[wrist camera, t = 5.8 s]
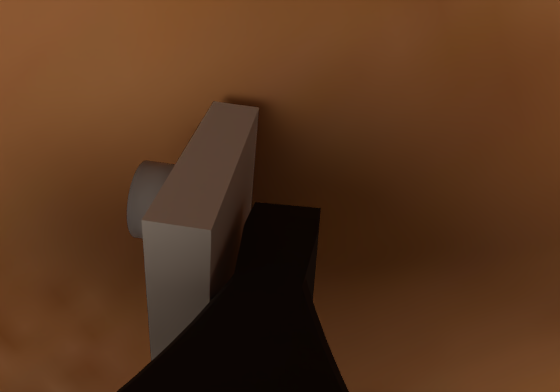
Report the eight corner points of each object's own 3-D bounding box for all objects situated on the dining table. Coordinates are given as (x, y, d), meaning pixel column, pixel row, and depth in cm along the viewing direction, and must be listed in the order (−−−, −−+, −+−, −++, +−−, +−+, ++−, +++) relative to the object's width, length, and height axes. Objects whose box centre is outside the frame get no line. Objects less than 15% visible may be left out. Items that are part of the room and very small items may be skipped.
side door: (260, 105, 9) (208, 235, 5) (236, 397, 13) (201, 561, 10) (176, 93, 9) (77, 215, 6) (181, 388, 13) (129, 548, 10)
